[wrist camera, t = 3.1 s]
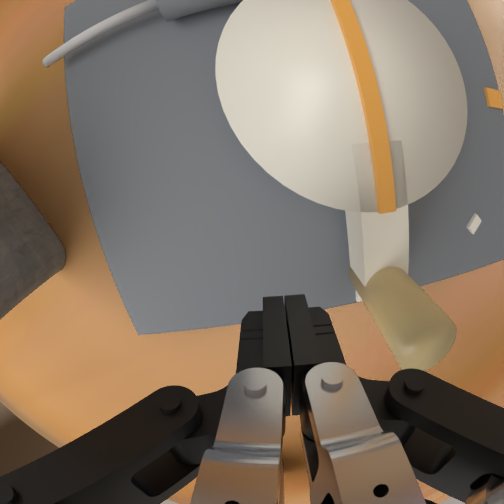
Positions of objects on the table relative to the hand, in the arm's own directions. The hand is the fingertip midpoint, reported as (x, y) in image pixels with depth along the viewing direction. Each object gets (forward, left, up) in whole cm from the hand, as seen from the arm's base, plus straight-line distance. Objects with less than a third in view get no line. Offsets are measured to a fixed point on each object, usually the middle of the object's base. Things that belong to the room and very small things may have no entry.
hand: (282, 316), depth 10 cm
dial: (+6, -5, -5) cm, 9 cm away
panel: (+9, -4, -7) cm, 12 cm away
